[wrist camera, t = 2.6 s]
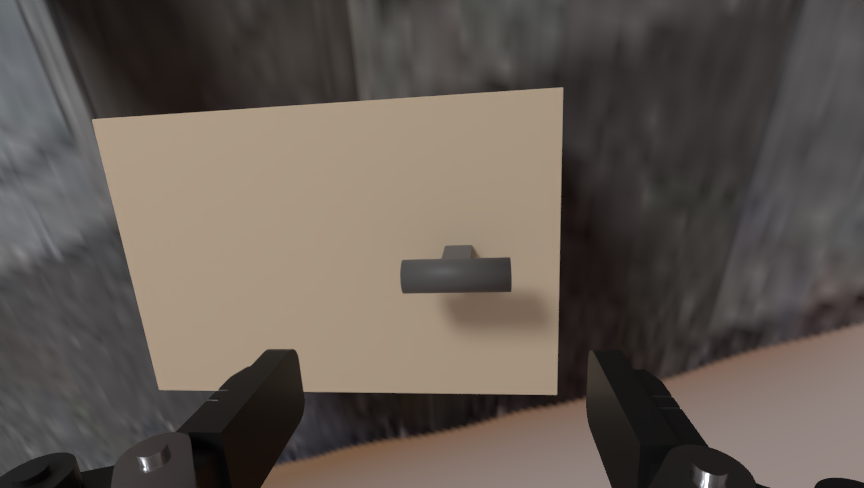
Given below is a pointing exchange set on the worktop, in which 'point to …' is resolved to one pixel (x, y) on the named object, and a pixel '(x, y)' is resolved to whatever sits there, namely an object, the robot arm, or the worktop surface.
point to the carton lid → (348, 240)
